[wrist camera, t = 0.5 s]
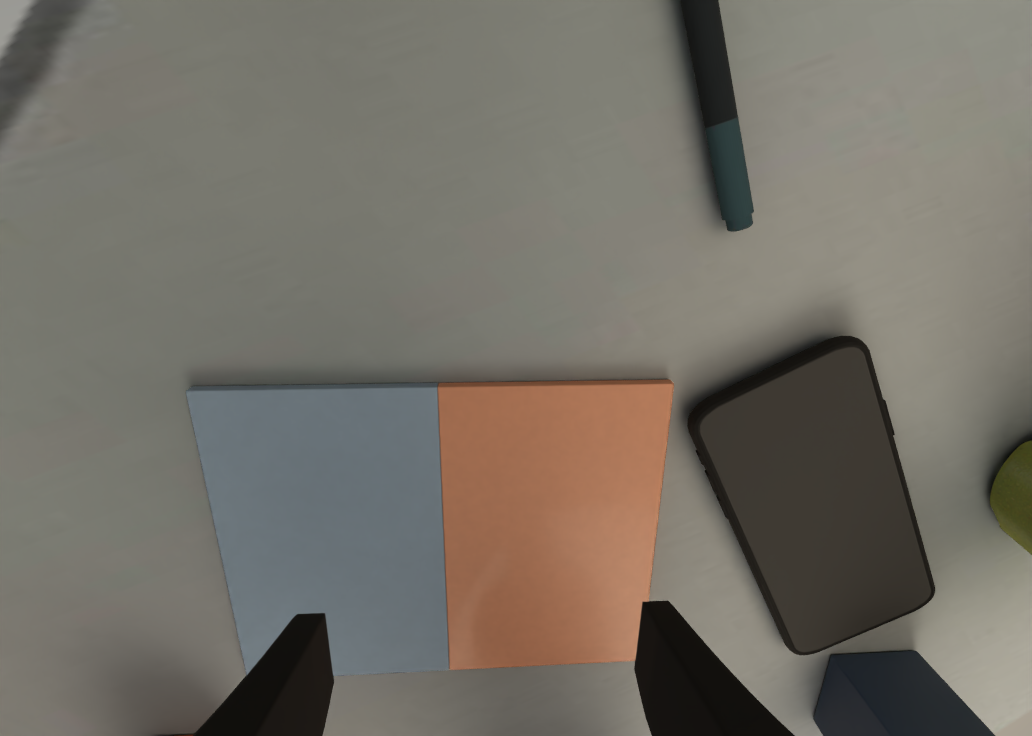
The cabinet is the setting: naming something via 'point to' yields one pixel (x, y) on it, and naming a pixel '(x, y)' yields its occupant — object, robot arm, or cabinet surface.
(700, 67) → the pen
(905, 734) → the slate block
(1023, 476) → the plant pot
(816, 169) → the cabinet surface
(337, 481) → the sorting board
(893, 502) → the smartphone
